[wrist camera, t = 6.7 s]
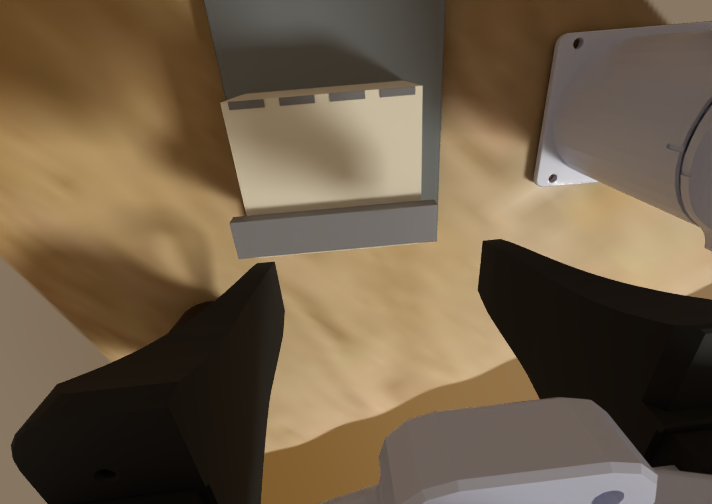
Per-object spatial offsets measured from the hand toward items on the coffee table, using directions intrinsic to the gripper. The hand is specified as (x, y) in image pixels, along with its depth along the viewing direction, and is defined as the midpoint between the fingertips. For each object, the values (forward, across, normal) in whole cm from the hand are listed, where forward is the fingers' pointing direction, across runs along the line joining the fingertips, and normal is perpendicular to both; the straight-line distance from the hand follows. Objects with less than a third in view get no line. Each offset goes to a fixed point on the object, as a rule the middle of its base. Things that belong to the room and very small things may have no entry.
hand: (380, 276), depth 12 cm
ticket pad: (+9, +1, -2) cm, 10 cm away
